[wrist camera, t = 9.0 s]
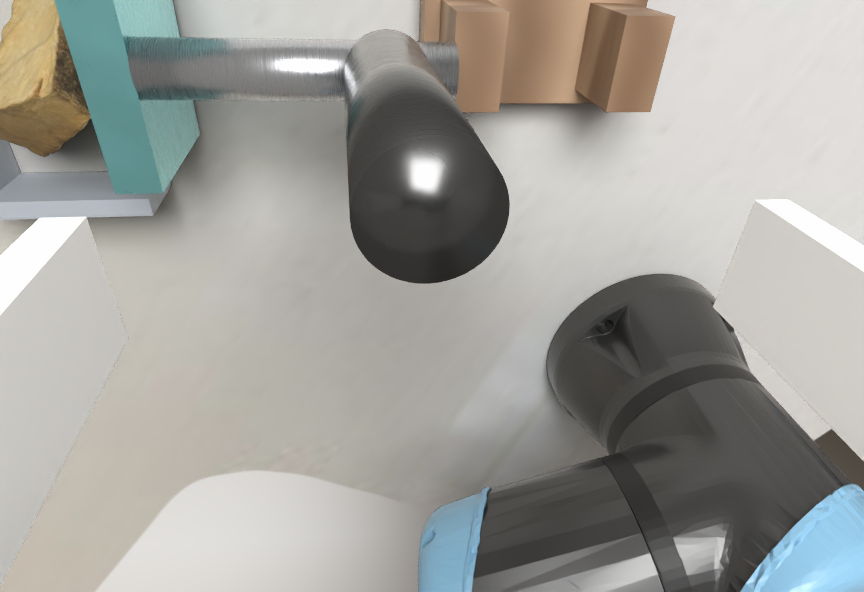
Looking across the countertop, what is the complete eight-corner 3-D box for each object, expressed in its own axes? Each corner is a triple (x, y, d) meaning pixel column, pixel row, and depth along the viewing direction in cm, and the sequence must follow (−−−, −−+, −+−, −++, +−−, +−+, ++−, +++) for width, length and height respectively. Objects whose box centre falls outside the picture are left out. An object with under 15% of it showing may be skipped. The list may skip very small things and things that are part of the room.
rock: (46, 206, 31) (193, 153, 29) (-128, 180, 23) (61, 105, 21) (0, 29, 31) (144, -34, 29) (-189, -59, 23) (-6, -153, 21)
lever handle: (435, -69, 27) (607, -41, 10) (428, 132, 32) (528, 372, 15) (108, -84, 25) (-396, -80, 8) (162, 134, 30) (-60, 414, 13)
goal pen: (79, -183, 23) (38, -199, 20) (171, 186, 33) (153, 215, 30) (-159, -199, 22) (-243, -219, 19) (9, 189, 32) (-29, 220, 29)
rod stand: (634, -17, 30) (696, -3, 25) (609, 94, 34) (660, 127, 28) (420, -24, 29) (439, -11, 23) (417, 93, 32) (433, 128, 27)
